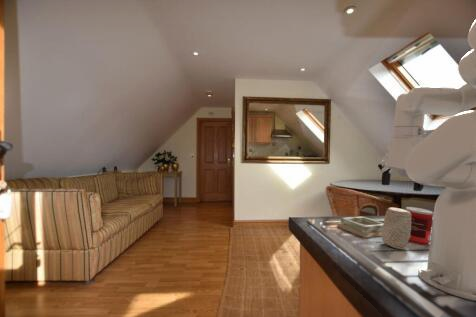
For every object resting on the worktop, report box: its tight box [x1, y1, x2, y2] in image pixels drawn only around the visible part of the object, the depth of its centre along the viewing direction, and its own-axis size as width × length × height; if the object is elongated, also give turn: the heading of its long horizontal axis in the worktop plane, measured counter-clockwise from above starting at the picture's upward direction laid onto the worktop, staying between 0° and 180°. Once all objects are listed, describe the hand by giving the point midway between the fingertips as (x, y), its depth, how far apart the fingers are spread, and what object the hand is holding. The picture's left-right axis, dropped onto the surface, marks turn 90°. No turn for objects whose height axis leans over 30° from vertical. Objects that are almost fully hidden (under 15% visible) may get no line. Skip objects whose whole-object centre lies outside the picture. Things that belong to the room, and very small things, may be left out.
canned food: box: [405, 206, 434, 246], centre depth 83 cm, size 8×8×11 cm
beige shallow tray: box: [336, 216, 384, 239], centre depth 90 cm, size 14×12×4 cm
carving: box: [381, 206, 411, 251], centre depth 75 cm, size 6×8×12 cm
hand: (400, 187), depth 75 cm, fingers open, 9 cm apart
